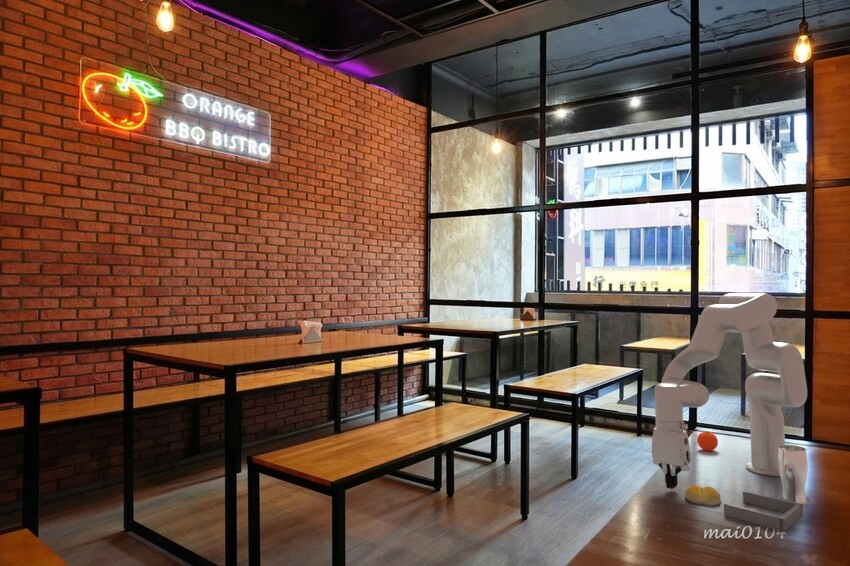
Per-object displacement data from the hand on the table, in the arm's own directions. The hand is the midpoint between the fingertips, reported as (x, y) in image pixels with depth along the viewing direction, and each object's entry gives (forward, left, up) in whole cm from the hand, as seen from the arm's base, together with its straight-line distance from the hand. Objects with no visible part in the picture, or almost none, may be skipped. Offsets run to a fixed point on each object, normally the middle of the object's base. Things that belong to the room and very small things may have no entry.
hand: (671, 487), depth 164 cm
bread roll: (0, +9, -2) cm, 9 cm away
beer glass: (-16, +27, -2) cm, 31 cm away
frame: (0, +24, -1) cm, 24 cm away
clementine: (-50, -10, -2) cm, 51 cm away
